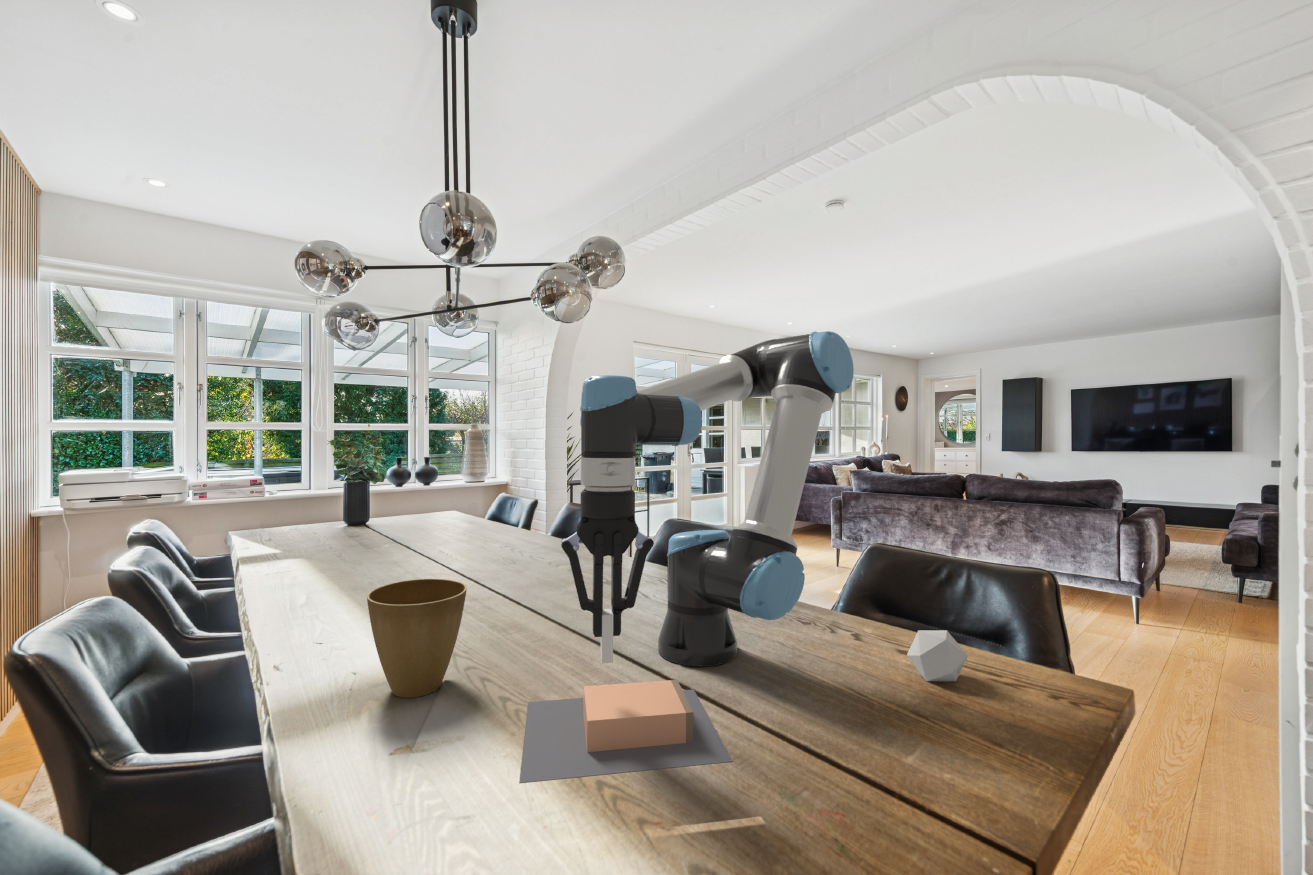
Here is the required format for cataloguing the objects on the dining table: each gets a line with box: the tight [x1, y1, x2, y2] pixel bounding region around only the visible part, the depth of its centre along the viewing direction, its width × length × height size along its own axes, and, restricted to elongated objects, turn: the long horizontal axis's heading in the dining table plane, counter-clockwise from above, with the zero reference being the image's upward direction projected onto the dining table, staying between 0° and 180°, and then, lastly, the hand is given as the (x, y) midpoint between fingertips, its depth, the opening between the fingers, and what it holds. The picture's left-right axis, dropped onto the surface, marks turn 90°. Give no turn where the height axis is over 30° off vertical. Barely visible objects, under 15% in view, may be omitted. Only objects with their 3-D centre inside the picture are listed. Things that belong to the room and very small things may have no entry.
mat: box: [519, 689, 734, 784], centre depth 76 cm, size 20×26×1 cm
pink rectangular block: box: [583, 679, 693, 752], centre depth 77 cm, size 10×4×14 cm
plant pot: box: [366, 578, 468, 699], centre depth 90 cm, size 15×15×16 cm
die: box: [906, 629, 969, 682], centre depth 95 cm, size 8×9×10 cm
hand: (606, 658), depth 76 cm, fingers closed
